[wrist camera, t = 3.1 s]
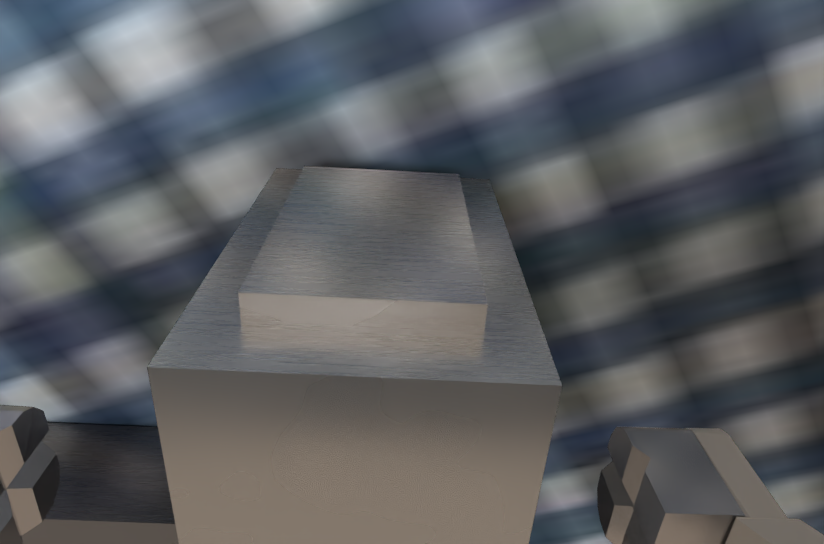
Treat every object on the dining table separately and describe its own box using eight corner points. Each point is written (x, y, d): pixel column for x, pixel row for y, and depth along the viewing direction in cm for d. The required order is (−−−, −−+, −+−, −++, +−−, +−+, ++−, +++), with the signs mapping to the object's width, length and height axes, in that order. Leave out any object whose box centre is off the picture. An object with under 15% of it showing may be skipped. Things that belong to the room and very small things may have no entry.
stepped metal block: (491, 160, 13) (569, 355, 6) (466, 366, 15) (505, 652, 9) (275, 149, 13) (142, 335, 6) (286, 358, 15) (196, 642, 9)
